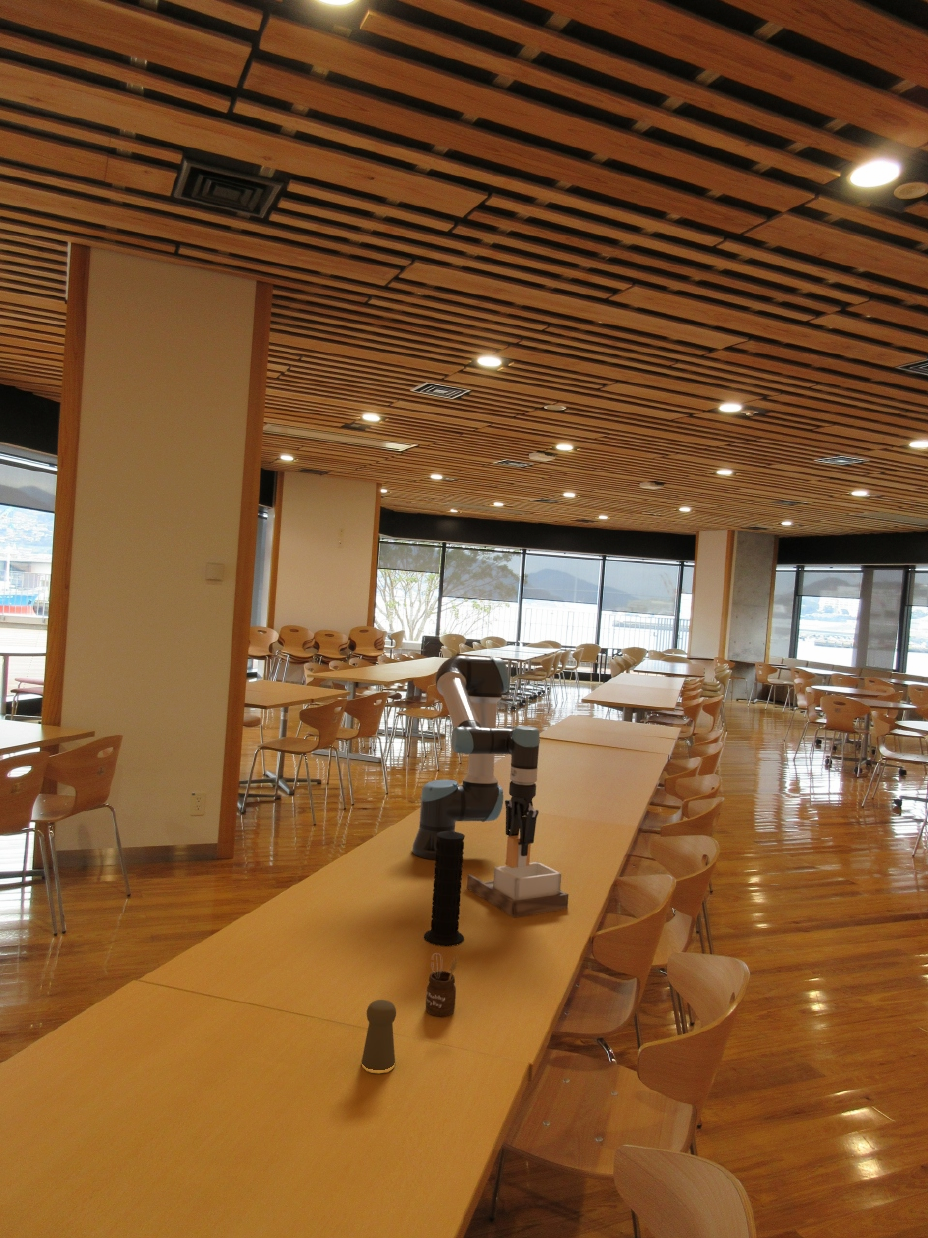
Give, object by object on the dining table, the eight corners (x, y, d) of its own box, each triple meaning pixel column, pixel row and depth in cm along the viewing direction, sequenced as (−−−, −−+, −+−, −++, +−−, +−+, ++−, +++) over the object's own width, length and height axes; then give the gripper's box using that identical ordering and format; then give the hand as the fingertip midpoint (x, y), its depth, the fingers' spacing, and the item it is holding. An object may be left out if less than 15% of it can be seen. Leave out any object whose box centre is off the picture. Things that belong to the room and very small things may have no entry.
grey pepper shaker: (361, 1055, 155) (365, 995, 155) (395, 1056, 155) (399, 996, 155) (360, 1074, 149) (364, 1011, 149) (395, 1074, 149) (399, 1012, 149)
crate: (490, 894, 240) (494, 837, 240) (534, 888, 248) (537, 833, 247) (514, 909, 230) (518, 850, 229) (559, 902, 237) (563, 844, 237)
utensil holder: (438, 1000, 178) (442, 943, 178) (461, 1011, 174) (465, 952, 174) (419, 1010, 173) (423, 951, 173) (442, 1021, 169) (446, 961, 169)
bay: (466, 888, 248) (467, 874, 248) (518, 881, 257) (518, 868, 257) (513, 917, 227) (514, 902, 227) (567, 909, 237) (568, 894, 237)
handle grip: (419, 943, 207) (459, 949, 205) (426, 833, 206) (467, 838, 204) (429, 927, 217) (468, 933, 215) (435, 823, 216) (475, 828, 214)
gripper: (496, 776, 247) (490, 857, 247) (528, 789, 233) (522, 875, 234) (517, 775, 251) (512, 855, 251) (551, 787, 237) (545, 872, 237)
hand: (517, 864), depth 242 cm, fingers closed on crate, 3 cm apart
